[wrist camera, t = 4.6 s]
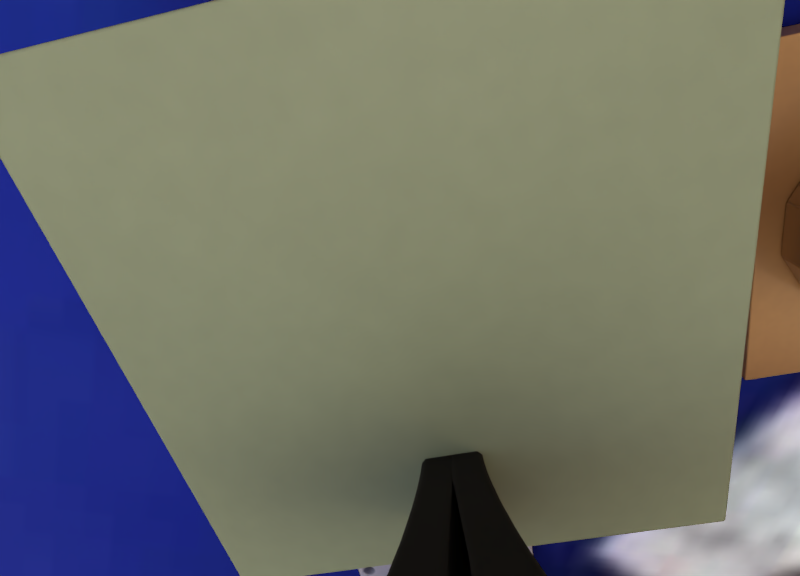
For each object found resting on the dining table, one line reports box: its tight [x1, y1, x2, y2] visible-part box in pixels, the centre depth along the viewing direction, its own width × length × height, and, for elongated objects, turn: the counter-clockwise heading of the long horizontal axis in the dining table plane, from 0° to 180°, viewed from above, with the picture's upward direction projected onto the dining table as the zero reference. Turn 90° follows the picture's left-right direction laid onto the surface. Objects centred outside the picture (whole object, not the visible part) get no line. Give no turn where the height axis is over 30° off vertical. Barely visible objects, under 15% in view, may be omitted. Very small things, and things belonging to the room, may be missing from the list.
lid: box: [0, 0, 785, 576], centre depth 11 cm, size 13×13×1 cm
